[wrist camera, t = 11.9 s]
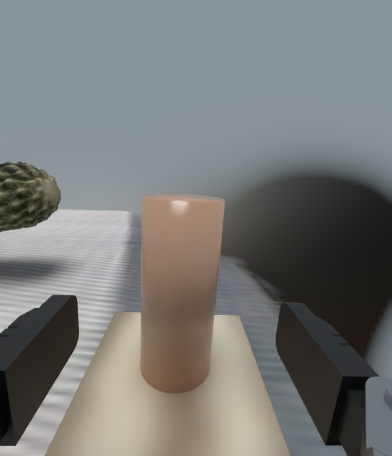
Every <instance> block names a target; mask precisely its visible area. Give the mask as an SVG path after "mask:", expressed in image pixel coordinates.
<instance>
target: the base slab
mask: <svg viewBox="0 0 392 456" xmlns="http://www.w3.org/2000/svg"><path fill="white" fill-rule="evenodd" d="M140 343H141V313H134V312H115V314H114V316H113V318H112V320H111V322H110V324H109V326H108V328H107V330H106V333H105V335H104V337H103V339H102V341H101V343H100V345H99V347H98V349H97V351H96V353H95V355H94V357H93V359H92V361H91V363H90V365H89V367H88V369H87V371H86V373H85V375H84V377H83V379H82V381H81V383H80V385H79V387H78V389H77V391H76V394H75V396H74V398H73V400H72V402H71V404H70V406H69V408H68V410H67V412H66V414H65V416H64V418H63V420H62V422H61V424H60V426H59V428H58V430H57V432H56V434H55V436H54V438H53V440H52V442H51V444H50V446H49V448H48V450H47V452H46V455H45V456H290V453H289V450H288V448H287V445H286V442H285V440H284V437H283V434H282V431H281V429H280V426H279V423H278V421H277V418H276V415H275V412H274V410H273V407H272V404H271V402H270V399H269V396H268V393H267V391H266V388H265V385H264V382H263V380H262V377H261V374H260V372H259V369H258V366H257V363H256V361H255V358H254V355H253V353H252V350H251V347H250V344H249V342H248V339H247V336H246V334H245V331H244V328H243V325H242V323H241V320H240V317H239V316H231V315H214V326H213V337H212V348H211V359H210V369H209V373H208V375H207V377H206V379H205V380H204V381H203V383H202V384H200V385H199V386H198V387H196V388H195V389H193V390H190V391H188V392H184V393H175V394H173V393H165V392H161V391H158V390H156V389H154V388H153V387H151V386H150V385H149V384H148V383H147V382H146V381H145V380H144V378H143V376H142V374H141V370H140Z"/></svg>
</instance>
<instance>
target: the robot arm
mask: <svg viewBox="0 0 392 456" xmlns="http://www.w3.org/2000/svg"><path fill="white" fill-rule="evenodd" d="M78 337H79V323H78V305H77V298H76V296H74V295H52V296H51V297H50V298H49V299H48V300H47V301H45V302H44V303H43V304H42V305H41V306H40V307H39V308H34V309H32V310H30V311H29V312H27V313H25V314H23V315H21V316H19V317H18V318H17V319H16V320H15V321H14V322H13V323H12V324H10V325H9V326H8V329H5V330H4V331H3V332H1V333H0V446H16V444H17V443H18V441H19V439H20V438H21V436H22V435H23V433H24V431H25V430H26V428H27V426H28V425H29V423H30V421H31V420H32V418H33V417H34V415H35V413H36V412H37V410H38V408H39V407H40V405H41V403H42V402H43V400H44V399H45V397H46V395H47V394H48V392H49V390H50V389H51V387H52V385H53V384H54V382H55V381H56V379H57V377H58V376H59V374H60V372H61V371H62V369H63V367H64V366H65V364H66V363H67V361H68V359H69V358H70V356H71V354H72V353H73V351H74V349H75V347H76V345H77V342H78ZM276 347H277V351H278V354H279V356H280V358H281V360H282V362H283V364H284V366H285V368H286V369H287V371H288V373H289V375H290V377H291V379H292V381H293V383H294V385H295V387H296V389H297V391H298V393H299V395H300V397H301V399H302V401H303V402H304V404H305V406H306V408H307V410H308V412H309V414H310V416H311V418H312V420H313V422H314V424H315V426H316V428H317V430H318V432H319V434H320V436H321V437H322V439H323V441H324V443H325V445H342V446H343V448H344V450H345V452H346V453H347V454H346V456H392V379H388V378H384V377H379V375H377V374H376V373H375V371H374V370H373V369H372V368H371V367H370V366H369V365H368V364H367V363H366V362H365V361H364V360H363V359H362V358H361V357H360V355H358V354H357V352H356V351H355V350H354V349H353V348H352V347H351V346H349V345H348V343H347V342H346V341H345V340H344V339H343V338H342V337H340V334H339V333H338V332H337V331H336V330H335V329H334V328H333V327H332V326H331V325H330V324H328V323H327V322H325V321H324V320H322V319H321V318H319V317H315V316H314V314H313V313H312V312H311V311H310V310H309V309H308V308H307V307H306V306H305V305H304V304H303V303H282V305H281V308H280V314H279V320H278V326H277V332H276Z"/></svg>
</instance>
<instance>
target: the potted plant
mask: <svg viewBox="0 0 392 456" xmlns="http://www.w3.org/2000/svg"><path fill="white" fill-rule="evenodd" d="M60 198H61V197H60V190H59V188H58V187H57V183H56V181H55V177H53V176H52V177H50V176H48V174H47V173H46V171H45V170H44V169H42V170H38V169H36V168H35V167H34V166H32V165H30V164H26V163H22V162H17V163H11V162H7V163H4V164H0V232H2V231H8V230H14V229H21V228H28V227H33V226H36V225H37V224H38V223H40V222H42V221H45V220H47V219H48V218H49V217H50V216H51V214H52V213H53V212H55V211H57V209H58V204H59V203H60V200H61V199H60Z"/></svg>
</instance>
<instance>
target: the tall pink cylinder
mask: <svg viewBox="0 0 392 456" xmlns="http://www.w3.org/2000/svg"><path fill="white" fill-rule="evenodd" d="M224 204H225V200H223V199H220V198H216V197H211V196H204V195H194V194H178V193H153V194H145V195H143V196H142V250H141V343H140V370H141V374H142V376H143V378H144V380H145V381H146V382H147V383H148V384H149V385H150V386H151V387H153V388H154V389H156V390H158V391H161V392H165V393H173V394H175V393H184V392H188V391H190V390H193V389H195V388H196V387H198V386H199V385H200V384H202V383H203V381H204V380H205V379H206V377H207V375H208V373H209V369H210V359H211V348H212V337H213V326H214V315H215V304H216V293H217V282H218V271H219V259H220V248H221V237H222V226H223V215H224Z"/></svg>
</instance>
